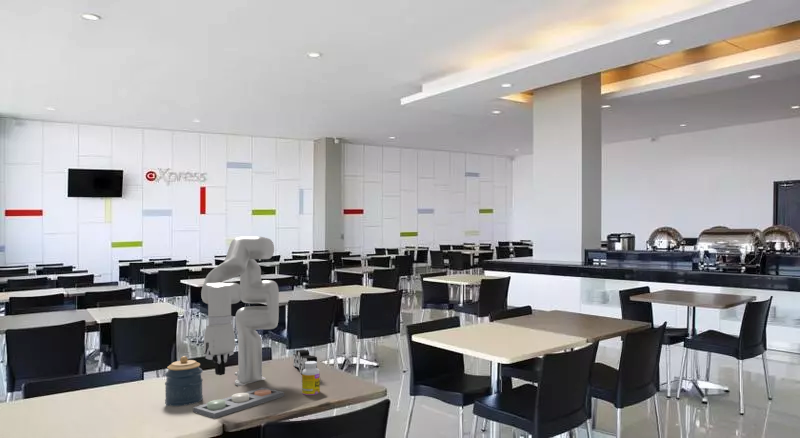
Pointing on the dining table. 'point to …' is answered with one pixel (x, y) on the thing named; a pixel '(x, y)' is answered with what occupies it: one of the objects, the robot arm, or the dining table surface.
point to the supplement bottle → (310, 379)
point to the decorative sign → (302, 359)
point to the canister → (183, 383)
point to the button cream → (240, 397)
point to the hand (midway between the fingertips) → (220, 374)
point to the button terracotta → (262, 392)
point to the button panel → (234, 406)
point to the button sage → (216, 405)
